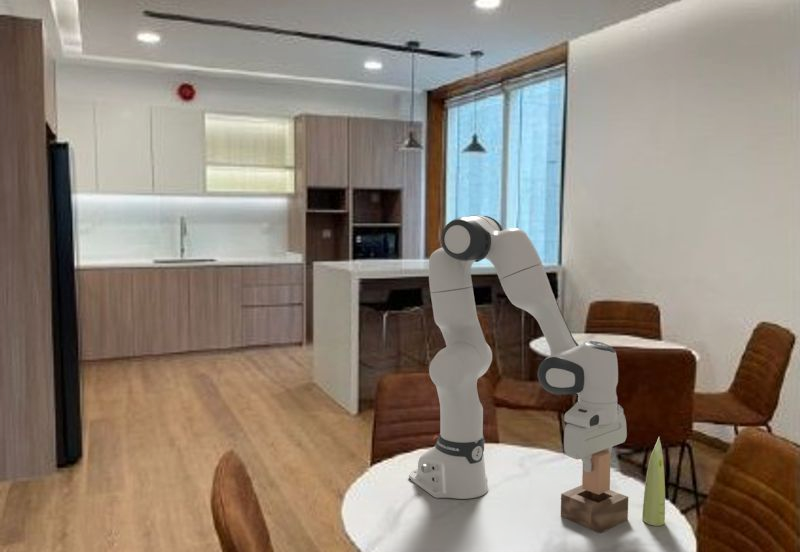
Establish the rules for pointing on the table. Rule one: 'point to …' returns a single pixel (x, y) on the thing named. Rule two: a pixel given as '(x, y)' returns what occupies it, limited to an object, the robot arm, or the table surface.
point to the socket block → (594, 508)
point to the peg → (598, 473)
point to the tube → (655, 489)
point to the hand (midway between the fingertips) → (596, 468)
